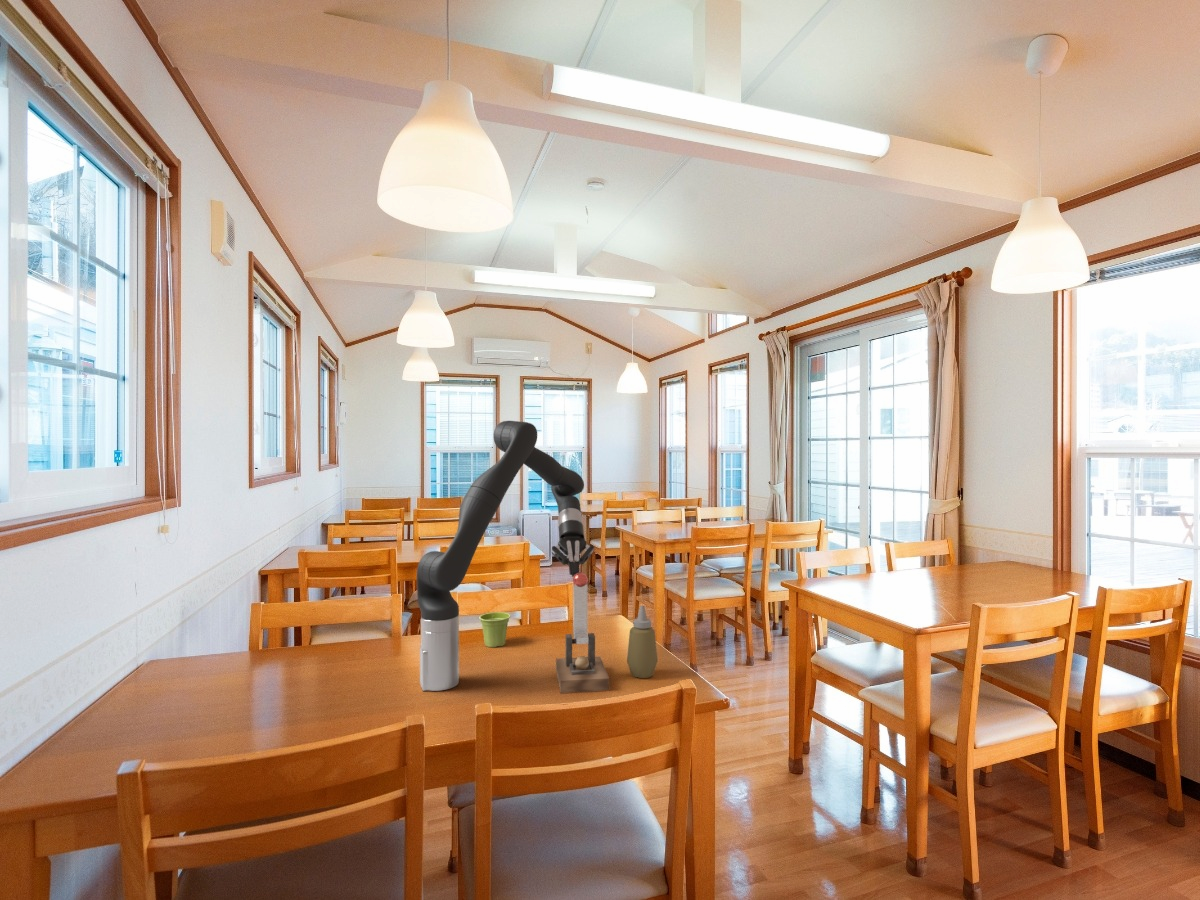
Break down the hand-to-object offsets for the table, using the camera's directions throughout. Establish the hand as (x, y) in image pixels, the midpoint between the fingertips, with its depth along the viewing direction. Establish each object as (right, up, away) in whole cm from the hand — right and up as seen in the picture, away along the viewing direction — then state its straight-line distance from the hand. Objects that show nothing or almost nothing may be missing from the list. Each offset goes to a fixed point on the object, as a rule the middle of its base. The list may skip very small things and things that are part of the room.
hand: (574, 575), depth 171 cm
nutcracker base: (+2, -24, -16) cm, 28 cm away
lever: (+2, -14, -14) cm, 20 cm away
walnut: (+2, -21, -17) cm, 27 cm away
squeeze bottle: (+18, -24, -12) cm, 32 cm away
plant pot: (-25, -24, +13) cm, 37 cm away
